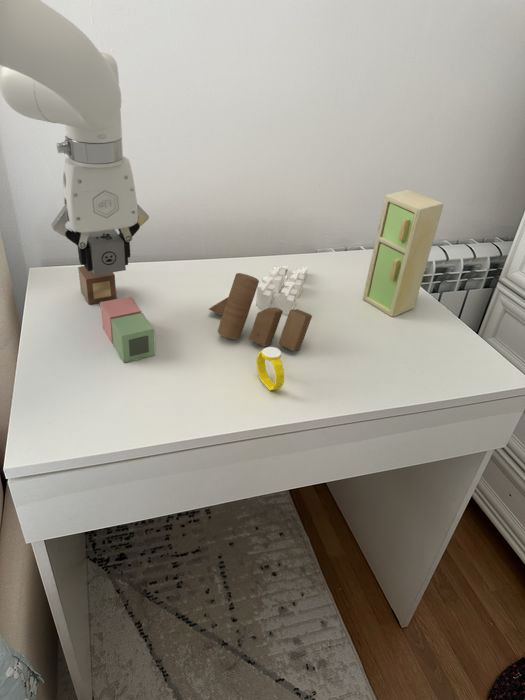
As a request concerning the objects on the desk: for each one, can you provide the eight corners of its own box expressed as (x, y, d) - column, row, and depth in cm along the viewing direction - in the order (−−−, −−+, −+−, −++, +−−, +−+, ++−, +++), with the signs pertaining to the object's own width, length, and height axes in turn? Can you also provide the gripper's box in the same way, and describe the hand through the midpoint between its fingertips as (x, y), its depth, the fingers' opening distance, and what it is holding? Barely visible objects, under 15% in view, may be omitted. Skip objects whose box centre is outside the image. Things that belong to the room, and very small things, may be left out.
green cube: (124, 363, 81) (122, 336, 78) (113, 345, 85) (111, 319, 82) (155, 355, 83) (154, 329, 80) (143, 338, 87) (142, 312, 84)
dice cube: (125, 270, 86) (123, 241, 83) (94, 275, 84) (91, 245, 81) (116, 257, 90) (114, 229, 87) (86, 261, 87) (83, 232, 85)
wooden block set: (300, 357, 91) (322, 300, 88) (281, 363, 83) (303, 301, 80) (214, 317, 97) (231, 263, 94) (188, 320, 89) (206, 261, 86)
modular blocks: (290, 316, 97) (293, 297, 94) (254, 307, 98) (256, 289, 96) (310, 270, 113) (313, 253, 110) (279, 263, 114) (281, 246, 111)
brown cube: (88, 305, 94) (86, 279, 91) (80, 291, 97) (77, 266, 94) (116, 299, 96) (115, 274, 93) (108, 286, 99) (105, 262, 96)
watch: (286, 394, 79) (291, 362, 75) (270, 399, 77) (274, 366, 74) (266, 370, 83) (270, 339, 79) (251, 375, 82) (254, 343, 78)
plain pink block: (112, 344, 85) (110, 317, 82) (102, 328, 88) (100, 301, 85) (142, 337, 87) (141, 311, 84) (132, 321, 91) (130, 296, 88)
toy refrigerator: (358, 299, 104) (382, 194, 92) (383, 291, 108) (409, 188, 96) (389, 318, 99) (418, 210, 87) (414, 309, 103) (445, 203, 91)
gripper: (38, 161, 70) (57, 284, 80) (162, 153, 78) (164, 266, 88) (26, 145, 75) (45, 263, 85) (143, 139, 83) (147, 247, 93)
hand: (105, 263), depth 87 cm, fingers closed on dice cube, 5 cm apart
